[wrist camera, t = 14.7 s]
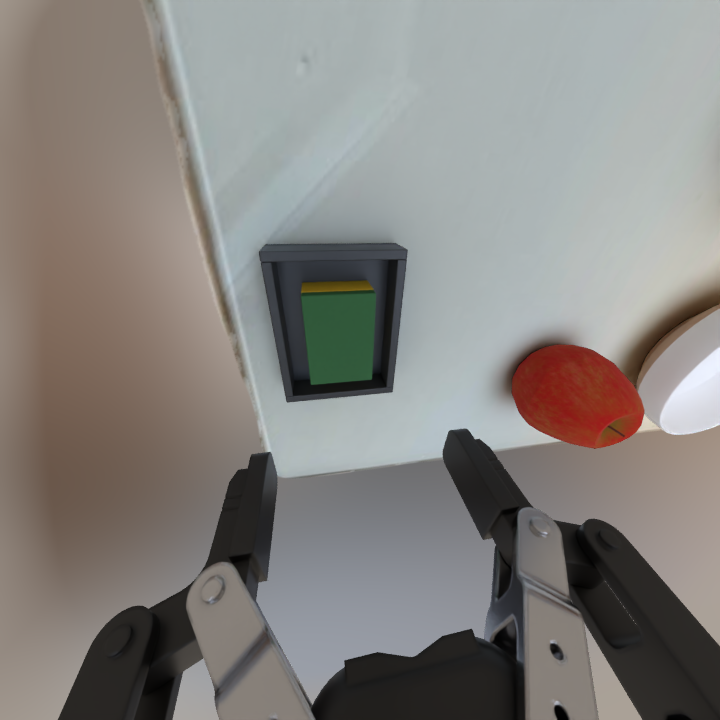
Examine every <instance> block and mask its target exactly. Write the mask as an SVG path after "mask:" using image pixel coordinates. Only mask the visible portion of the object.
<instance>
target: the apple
mask: <svg viewBox="0 0 720 720" xmlns="http://www.w3.org/2000/svg"><path fill="white" fill-rule="evenodd" d="M512 395H513V398H514V400H515V403H516V406H517V408H518V411H519V413H520V414H521V416H522V417H523V418H524V419H525V421H526V422H527V423H528V424H529V425H531V426H532V427H534V428H535V429H537V430H538V431H540V432H542V433H545V434H547V435H549V436H551V437H554V438H556V439H559V440H561V441H564V442H567V443H570V444H575V445H579V446H584V447H589V448H594V449H596V448H601V447H606V446H610V445H613V444H616V443H619V442H621V441H623V440H625V439H627V438H629V437H630V436H632V435H633V434H634V433H635V432H637V430H638V429H639V427H640V426H641V424H642V420H643V416H644V411H645V410H644V407H643V403H642V400H641V398H640V396H639V394H638V392H637V390H636V389H635V387H634V385H633V384H632V383H631V382H630V381H629V380H628V378H627V377H626V376H625V375H624V374H623V373H622V372H621V371H620V370H619V368H618V367H617V366H616V365H615V364H614V363H613V362H611V361H609V360H608V359H606V358H605V357H603V356H601V355H600V354H598V353H597V352H595V351H593V350H591V349H588V348H584V347H579V346H575V345H559V344H557V345H552V346H548V347H544V348H542V349H540V350H538V351H535V352H533V353H531V354H530V355H529V356H528V357H527V358H526V359H525V360H524V361H523V362H522V363H521V364H520V365H519V366H518V368H517V370H516V372H515V374H514V376H513V378H512Z"/></svg>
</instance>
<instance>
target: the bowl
mask: <svg viewBox="0 0 720 720" xmlns="http://www.w3.org/2000/svg"><path fill="white" fill-rule="evenodd" d="M636 385H637V392H638V394H639V396H640V398H641V400H642V403H643V407H644V410H645V411H644V414H645V415H646V416H647V418H648V419H649V420H651V421H652V422H653V423H654V424H656V425H657V426H658V427H659V428H661V429H662V430H663V431H665V432H666V433H670V434H675V435H683V434H691V433H696V432H700V431H703V430H707V429H710V428H713V427H715V426H718V425H720V304H719V305H716V306H714V307H712V308H710V309H708V310H706V311H704V312H703V313H700V314H698V315H696V316H693V317H691V318H689V319H688V320H686V321H684V322H682V323H681V324H679V325H678V326H676V327H675V328H673V329H672V330H671V331H670V332H669V333H667V334H666V335H665V336H664V337H663V338H662V339H661V340H660V341H659V342H658V343H657V344H656V345H655V346H654V347H653V348H652V349H651V351H650V352H649V354H648V355H647V356H646V358H645V360H644V362H643V364H642V368H641V371H640V373H639V376H638V379H637V383H636Z"/></svg>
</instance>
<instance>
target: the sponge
mask: <svg viewBox="0 0 720 720" xmlns="http://www.w3.org/2000/svg"><path fill="white" fill-rule="evenodd" d="M301 303H302V312H303V321H304V330H305V338H306V347H307V356H308V365H309V374H310V382H311V385H316V384H327V383H338V382H349V381H360V380H371V379H372V370H373V350H374V329H375V308H376V293H375V291H374V289H373V288H372V286H371V285H370V284H369V282H368V281H367V280H365V281H334V282H303V283H302V288H301Z"/></svg>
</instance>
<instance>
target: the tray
mask: <svg viewBox="0 0 720 720" xmlns="http://www.w3.org/2000/svg"><path fill="white" fill-rule="evenodd" d="M407 252H408V250H407V249H405V248H403V247H402V246H400V245H398V244H396V243H361V244H266V245H265V246H264V247H263V248H262V249H261V250H260V251H259V256H260V261H261V266H262V272H263V277H264V282H265V288H266V293H267V299H268V304H269V309H270V315H271V320H272V326H273V331H274V337H275V342H276V347H277V353H278V358H279V364H280V369H281V374H282V380H283V385H284V391H285V396H286V401H287V402H296V401H307V400H317V399H327V398H338V397H348V396H358V395H369V394H379V393H389V392H393V383H394V373H395V364H396V355H397V345H398V336H399V327H400V317H401V308H402V299H403V289H404V280H405V271H406V261H407V260H406V259H407ZM365 280H367V281H368V282H369V284H370V285H371V286H372V288H373V289H374V291H375V293H376V308H375V329H374V350H373V370H372V379H371V380H360V381H349V382H338V383H327V384H316V385H311V382H310V374H309V365H308V356H307V347H306V338H305V330H304V321H303V312H302V303H301V288H302V283H303V282H334V281H365Z"/></svg>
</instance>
